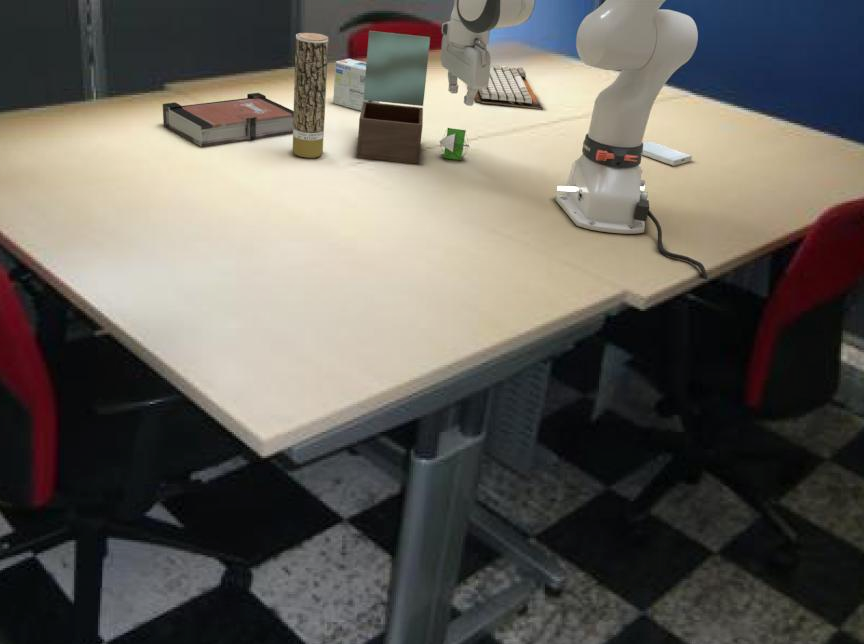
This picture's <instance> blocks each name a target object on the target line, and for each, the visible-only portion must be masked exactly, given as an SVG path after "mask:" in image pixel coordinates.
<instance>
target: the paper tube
mask: <svg viewBox="0 0 864 644" xmlns="http://www.w3.org/2000/svg"><path fill="white" fill-rule="evenodd" d="M294 54H295V55H294V83H293V86H294V87H293V111H294V115H293V133H292V152H293V154H294V155H295V156H297V157H300V158H305V159H315V158H318V157H321V156H322V154H323V153H324V137H325V116H326V97H327V79H328V76H327V75H328V58H329V56H328V55H329V36H327V35H325V34H322V33H316V32H299V33H296V34H295V53H294Z"/></svg>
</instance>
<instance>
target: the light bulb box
mask: <svg viewBox="0 0 864 644" xmlns="http://www.w3.org/2000/svg"><path fill="white" fill-rule="evenodd" d="M366 63H367V62H366V61H365V62H364V61H360V60H356V59H352V58H346V59H342V60H341V59H340V60H336V61H335V63H334V81H333V82H334V83H333V98H332V99H333V101H332V102H333V103H332V104H335V105H338V106H342V107H344V108H345V107H346V108H350V109H353V110H357V111H360V112H361V110H362V105H363V102H373V103H380V102H379V101H369V100H363V99H364V87H365V75H366Z"/></svg>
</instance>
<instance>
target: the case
mask: <svg viewBox="0 0 864 644" xmlns="http://www.w3.org/2000/svg"><path fill="white" fill-rule="evenodd" d="M423 120H424V107H422V106H412V105H402V104H393V103H383V102H379V103H373V102H363V105H362V110H361V111H360V115H359V119H358V132H357V133H358V134H357V147H356V158H357V159H365V160H375V161H387V162H395V163H404V164H405V163H406V164H415V165H418V164H420V163H419V161H420V154H421V142H422V134H423V125H424V123H423V122H424V121H423Z"/></svg>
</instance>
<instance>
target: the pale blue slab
mask: <svg viewBox="0 0 864 644" xmlns="http://www.w3.org/2000/svg"><path fill="white" fill-rule="evenodd" d="M367 40H368V42H367V51H366V62H365V63H366V75H365V87H364V99H363V100H369V101H379V103H387V104H397V105H407V106H416V107H424V101H425V94H426V93H425V91H426V83H427V75H428V74H427V72H428V65H429V64H428V63H429V53H430V44H431V42H430V41H431V37H430V36H422V35H413V34H405V33H395V32H387V31H386V32H385V31H375V30H369V31H368V39H367Z"/></svg>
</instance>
